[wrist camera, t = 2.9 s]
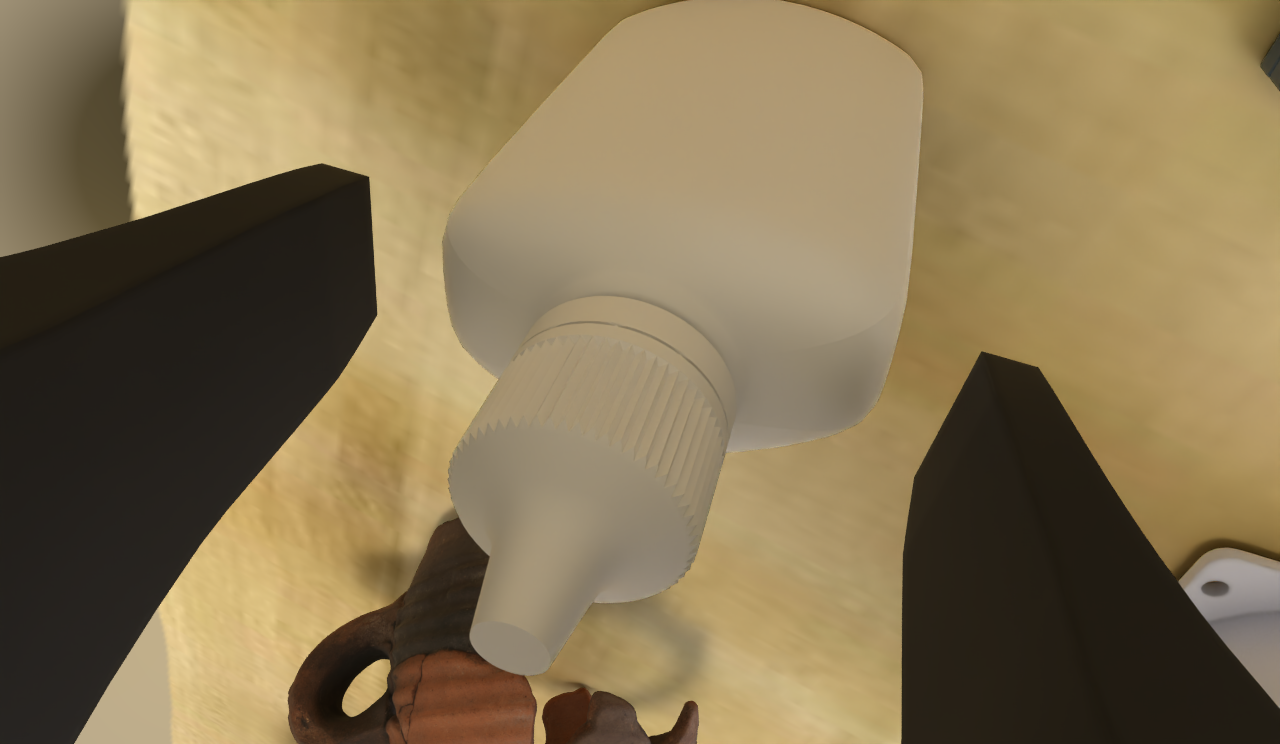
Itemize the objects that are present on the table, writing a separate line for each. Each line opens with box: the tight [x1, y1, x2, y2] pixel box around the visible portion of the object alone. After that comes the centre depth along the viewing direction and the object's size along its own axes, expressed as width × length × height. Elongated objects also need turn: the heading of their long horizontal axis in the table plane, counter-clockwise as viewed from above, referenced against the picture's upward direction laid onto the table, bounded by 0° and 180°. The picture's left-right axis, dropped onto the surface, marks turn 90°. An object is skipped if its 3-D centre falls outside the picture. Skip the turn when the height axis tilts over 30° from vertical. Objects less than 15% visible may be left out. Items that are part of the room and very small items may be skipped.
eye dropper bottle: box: [442, 0, 924, 676], centre depth 12 cm, size 4×6×12 cm
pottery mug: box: [288, 517, 699, 744], centre depth 27 cm, size 12×10×8 cm
